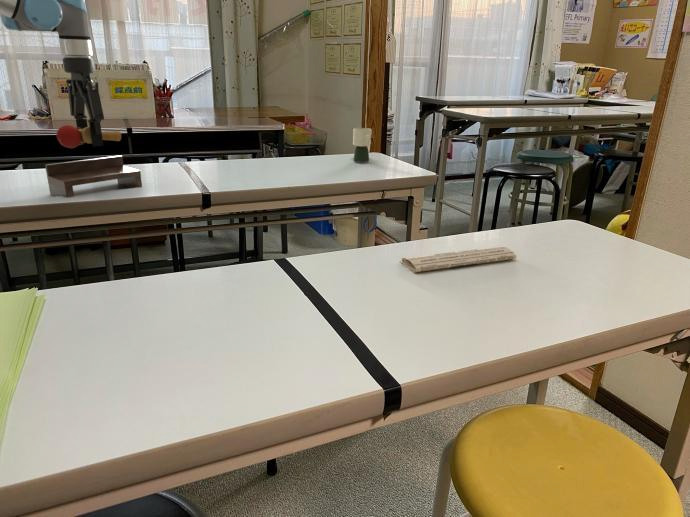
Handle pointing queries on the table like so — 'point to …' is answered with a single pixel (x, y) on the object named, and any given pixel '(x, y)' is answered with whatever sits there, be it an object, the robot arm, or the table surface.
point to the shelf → (89, 174)
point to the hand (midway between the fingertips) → (91, 144)
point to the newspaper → (458, 258)
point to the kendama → (81, 136)
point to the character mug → (361, 143)
